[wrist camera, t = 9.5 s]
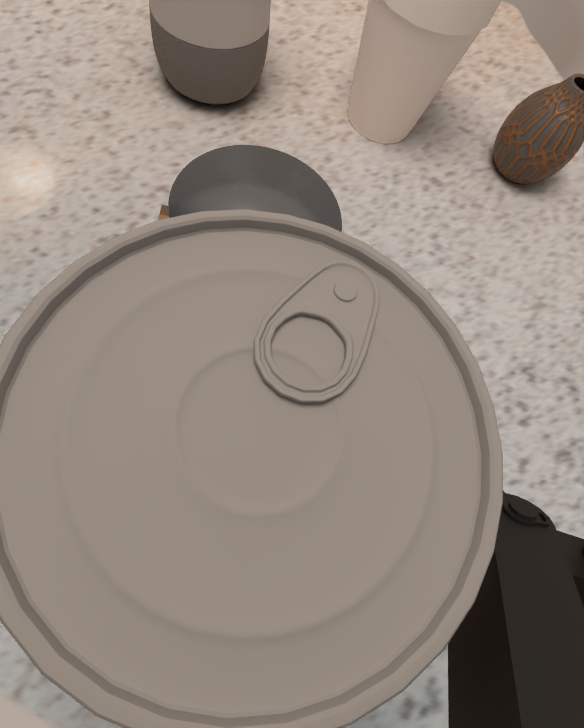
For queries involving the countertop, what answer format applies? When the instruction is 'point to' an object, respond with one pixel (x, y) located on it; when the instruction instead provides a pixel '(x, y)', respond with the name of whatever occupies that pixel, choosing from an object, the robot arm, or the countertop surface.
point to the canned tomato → (240, 476)
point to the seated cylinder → (253, 185)
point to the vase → (542, 132)
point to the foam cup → (409, 60)
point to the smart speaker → (211, 46)
